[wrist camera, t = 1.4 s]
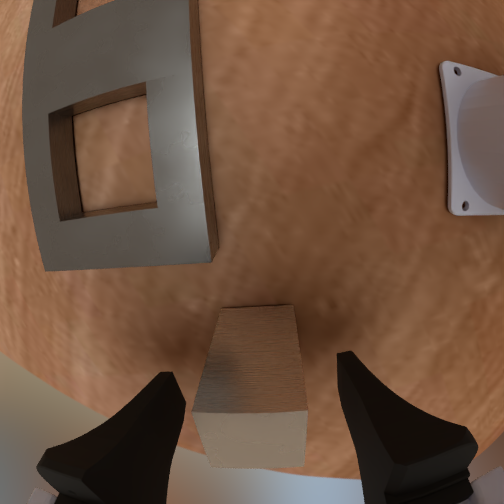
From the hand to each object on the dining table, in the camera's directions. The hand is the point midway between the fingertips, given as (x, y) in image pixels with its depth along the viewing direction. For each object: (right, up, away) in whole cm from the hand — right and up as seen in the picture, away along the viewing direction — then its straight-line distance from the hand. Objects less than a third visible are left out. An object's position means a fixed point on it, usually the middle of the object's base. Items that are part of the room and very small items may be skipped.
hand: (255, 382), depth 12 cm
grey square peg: (0, +1, +3) cm, 4 cm away
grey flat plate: (-7, +15, -1) cm, 17 cm away
